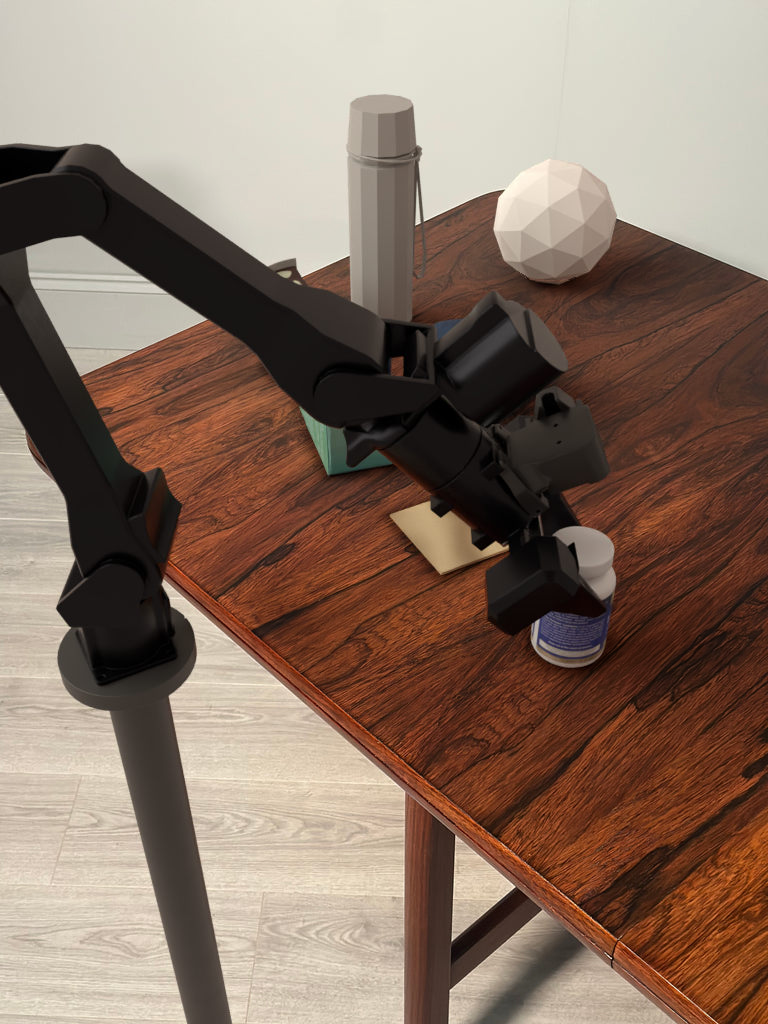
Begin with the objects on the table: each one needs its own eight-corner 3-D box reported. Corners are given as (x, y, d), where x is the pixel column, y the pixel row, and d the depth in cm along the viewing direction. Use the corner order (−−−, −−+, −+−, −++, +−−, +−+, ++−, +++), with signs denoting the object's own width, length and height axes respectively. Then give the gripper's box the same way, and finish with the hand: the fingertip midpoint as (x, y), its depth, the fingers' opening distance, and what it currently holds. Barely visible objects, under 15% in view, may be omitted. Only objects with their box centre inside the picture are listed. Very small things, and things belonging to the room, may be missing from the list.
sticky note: (441, 575, 87) (441, 572, 87) (389, 516, 93) (389, 514, 93) (530, 542, 90) (530, 540, 90) (475, 488, 97) (475, 485, 97)
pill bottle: (618, 658, 80) (637, 559, 73) (552, 679, 78) (566, 579, 72) (580, 610, 84) (595, 513, 78) (516, 629, 82) (527, 531, 76)
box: (327, 479, 98) (325, 411, 93) (296, 405, 108) (292, 341, 103) (402, 466, 99) (403, 399, 95) (364, 395, 110) (363, 331, 105)
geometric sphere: (516, 317, 134) (449, 223, 128) (579, 243, 139) (517, 149, 133) (594, 302, 122) (524, 198, 116) (659, 221, 127) (595, 118, 121)
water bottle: (366, 344, 118) (362, 119, 103) (340, 314, 124) (333, 97, 108) (438, 328, 121) (446, 107, 106) (410, 300, 127) (413, 86, 111)
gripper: (558, 469, 59) (717, 613, 66) (530, 315, 74) (661, 445, 80) (417, 572, 64) (577, 696, 71) (417, 408, 79) (549, 523, 85)
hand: (595, 580), depth 77 cm, fingers open, 7 cm apart
